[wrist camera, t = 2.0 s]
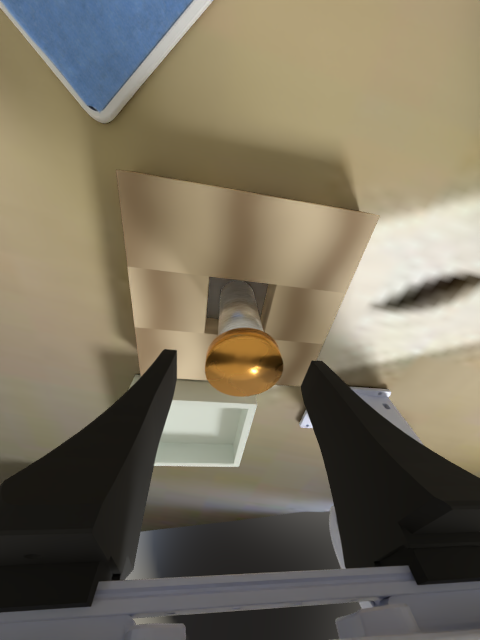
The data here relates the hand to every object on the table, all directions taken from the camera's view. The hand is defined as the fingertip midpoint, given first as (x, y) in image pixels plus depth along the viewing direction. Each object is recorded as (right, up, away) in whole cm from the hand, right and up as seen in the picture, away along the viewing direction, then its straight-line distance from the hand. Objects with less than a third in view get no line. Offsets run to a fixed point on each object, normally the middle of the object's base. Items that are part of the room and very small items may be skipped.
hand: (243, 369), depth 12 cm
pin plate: (0, +5, +8) cm, 9 cm away
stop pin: (-1, +5, +8) cm, 9 cm away
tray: (-6, -9, +16) cm, 19 cm away
